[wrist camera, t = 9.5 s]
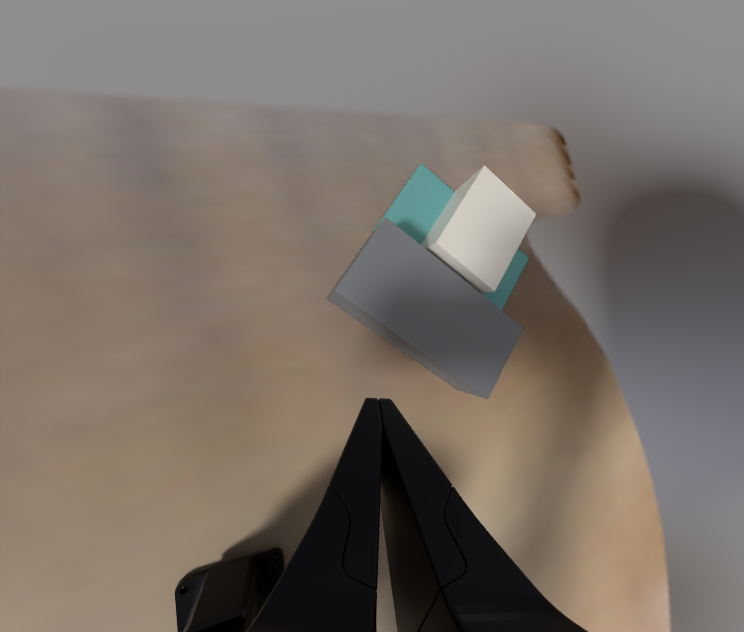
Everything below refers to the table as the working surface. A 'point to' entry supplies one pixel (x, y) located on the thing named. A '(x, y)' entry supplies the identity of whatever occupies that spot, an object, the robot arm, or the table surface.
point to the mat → (422, 210)
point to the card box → (480, 230)
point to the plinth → (426, 311)
